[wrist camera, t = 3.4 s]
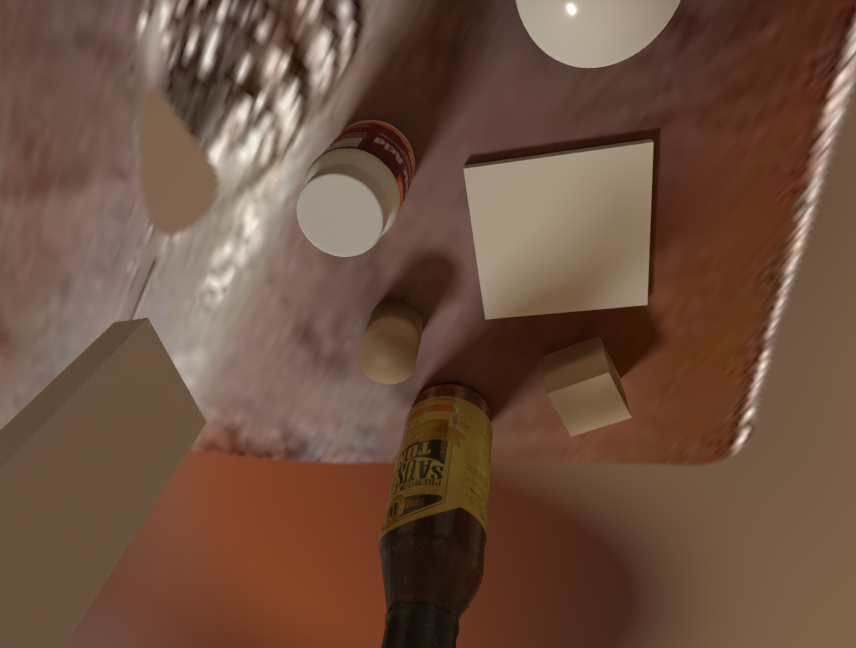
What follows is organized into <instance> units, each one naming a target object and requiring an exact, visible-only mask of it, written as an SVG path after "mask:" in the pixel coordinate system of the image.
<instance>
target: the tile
mask: <svg viewBox="0 0 856 648" xmlns="http://www.w3.org/2000/svg"><path fill="white" fill-rule="evenodd" d="M653 145H654V142H653V141H652V139H647V140H640V141H632V142H625V143H618V144H611V145H604V146H597V147H590V148H583V149H576V150H569V151H562V152H555V153H548V154H541V155H534V156H527V157H520V158H512V159H505V160H498V161H491V162H484V163H477V164H470V165H464V176H465V183H466V189H467V196H468V203H469V210H470V217H471V224H472V231H473V238H474V245H475V252H476V259H477V266H478V273H479V280H480V287H481V293H482V300H483V307H484V314H485V320H486V319H497V318H508V317H519V316H530V315H542V314H553V313H564V312H575V311H586V310H598V309H609V308H620V307H631V306H642V305H647V302H648V276H649V250H650V223H651V197H652V171H653Z"/></svg>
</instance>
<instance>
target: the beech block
mask: <svg viewBox="0 0 856 648" xmlns="http://www.w3.org/2000/svg"><path fill="white" fill-rule="evenodd" d="M542 358H543V367H544V377H545V386H546V394H547V396H548V398H549V399H550V401H551V403H552V405H553V406H554V408H555V410H556V411H557V413H558V415H559V416H560V418H561V420H562V422H563V423H564V425H565V427H566V428H567V430H568V432H569V434H570V435H571V436H574V435H578V434H581V433H584V432H587V431H590V430H594V429H597V428H600V427H603V426H606V425H610V424H613V423H616V422H619V421H622V420H626V419H629V418H632V417H631V414H630V410H629V407H628V403H627V400H626V396H625V393H624V389H623V386H622V382H621V379H620V377H619V374H618V372H617V370H616V368H615V366H614V364H613V362H612V360H611V358H610V356H609V354H608V352H607V350H606V348H605V346H604V344H603V342H602V340H601V338H600V336H596V337H593V338H591V339H588V340H585V341H583V342H580V343H577V344H575V345H572V346H569V347H567V348H564V349H561V350H559V351H556V352H553V353H551V354H548V355H545V356H542Z"/></svg>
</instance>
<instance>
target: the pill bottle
mask: <svg viewBox="0 0 856 648" xmlns="http://www.w3.org/2000/svg"><path fill="white" fill-rule="evenodd" d="M414 171H415V158H414V153H413V150H412V148H411V145H410V143H409V141H408V140H407V139H406V137H405V136H404V135H403V134H402V133H401V132H400V131H399V130H398V129H397V128H396V127H394V126H392V125H390V124H388V123H386V122H383V121H379V120H363V121H359V122H356V123H354V124H352V125H350V126H349V127H347V128H346V129H345V130H344V131H343V132H342V133H341V134H340V135H339V136H338V137H337V138H336V139H335V140H334V141H333V143H332V144H331V145H330V146H329V147H328V148H327V149H326V150H325V151H324V152H323V153H322V154H321V155H320V156H319V157H318V158H317V160H315V161H314V162H313V164H312V165H311V166H310V168H309V170H308V172H307V174H306V177H305V180H304V186H303V189H302V190H301V192H300V195H299V197H298V201H297V218H298V222H299V225H300V227H301V229H302V231H303V233H304V234H305V236H306V237H307V238H308V239H309V241H310V242H311V243H312V244H314V245H315V246H316V247H317V248H319V249H321V250H322V251H324V252H326V253H329V254H331V255H335V256H341V257H349V256H356V255H359V254H362V253H364V252H366V251H367V250H369V249H370V248H372V247H373V246H374V245H375V244H376V242H377V241H378V240H379V238H380V236H382V235H383V234H384V233H386V232H387V231H388V230H389V229H390V228H391V226H392V225H393V224H394V222H395V220H396V218H397V216H398V213H399V211H400V208H401V206H402V204H403V201H404V199H405V196H406V194H407V191H408V190H409V186H410V184H411V181H412V179H413V176H414Z"/></svg>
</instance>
